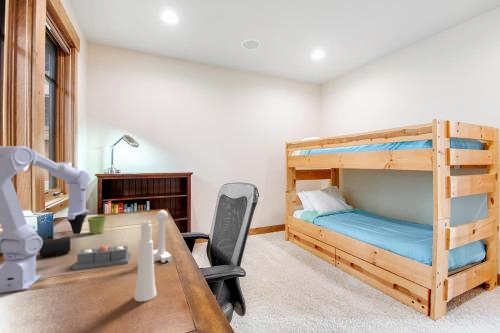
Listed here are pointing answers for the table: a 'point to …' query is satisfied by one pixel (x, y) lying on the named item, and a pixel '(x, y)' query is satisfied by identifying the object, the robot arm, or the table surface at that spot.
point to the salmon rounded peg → (104, 248)
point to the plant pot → (96, 224)
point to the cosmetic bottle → (145, 266)
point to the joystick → (161, 239)
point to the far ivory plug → (119, 248)
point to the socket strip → (101, 258)
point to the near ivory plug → (87, 251)
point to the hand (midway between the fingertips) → (76, 233)
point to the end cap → (55, 246)
